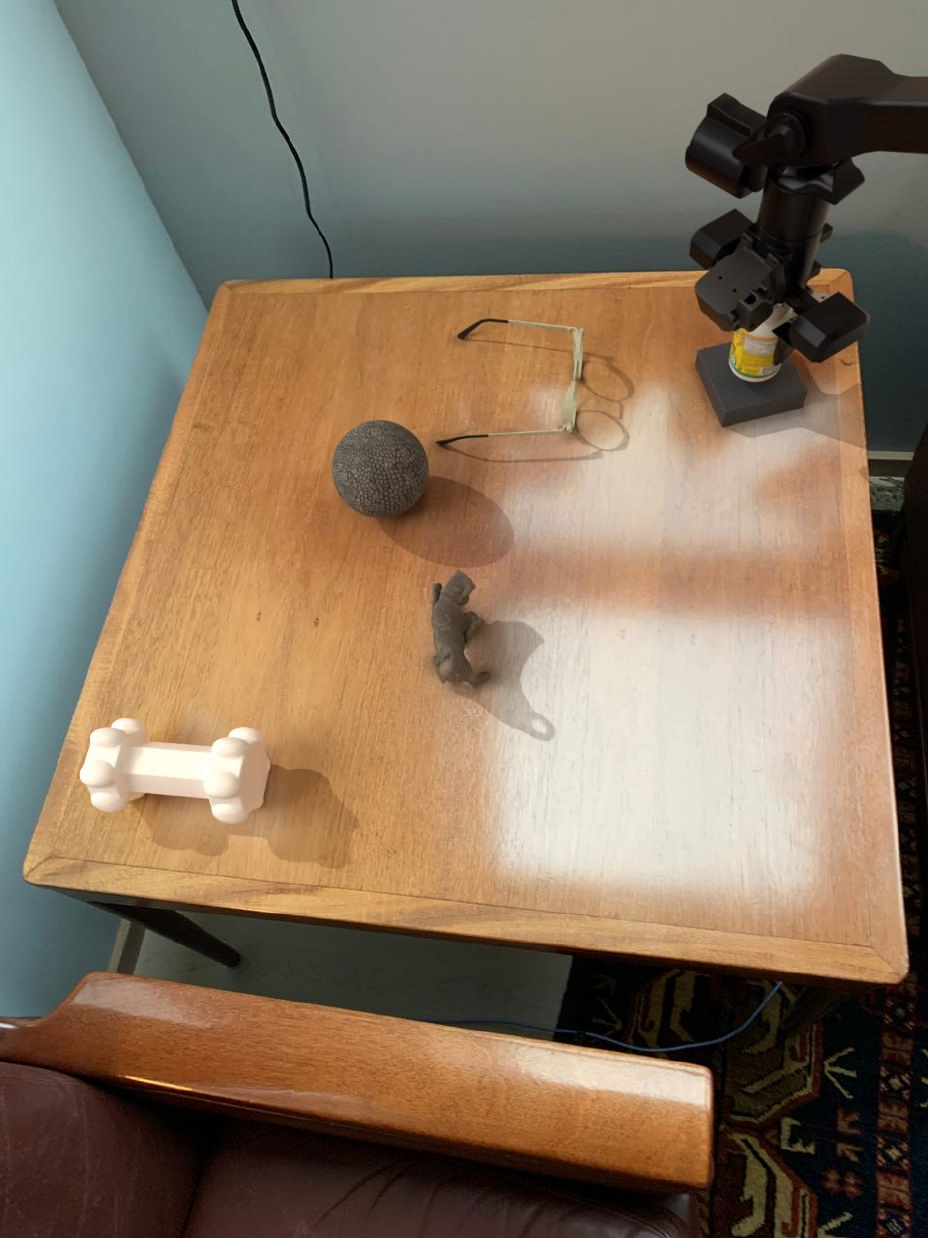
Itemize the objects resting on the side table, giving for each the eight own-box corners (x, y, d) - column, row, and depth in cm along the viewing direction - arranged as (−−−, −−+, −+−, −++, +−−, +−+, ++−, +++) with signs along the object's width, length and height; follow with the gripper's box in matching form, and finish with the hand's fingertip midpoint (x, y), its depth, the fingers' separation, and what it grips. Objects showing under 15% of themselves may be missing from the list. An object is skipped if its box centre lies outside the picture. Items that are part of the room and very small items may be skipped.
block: (772, 346, 97) (777, 329, 95) (803, 407, 93) (808, 391, 91) (694, 365, 97) (697, 349, 95) (721, 427, 93) (725, 412, 91)
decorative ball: (405, 443, 97) (387, 383, 88) (452, 504, 93) (439, 447, 84) (328, 489, 96) (303, 432, 87) (373, 552, 91) (351, 499, 83)
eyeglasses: (571, 457, 94) (570, 428, 89) (434, 449, 96) (427, 420, 92) (585, 337, 101) (586, 305, 96) (458, 333, 103) (452, 301, 99)
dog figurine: (491, 697, 83) (484, 667, 76) (432, 700, 83) (419, 671, 77) (488, 586, 88) (480, 549, 81) (432, 590, 89) (420, 553, 82)
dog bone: (279, 743, 83) (251, 715, 76) (260, 834, 80) (228, 813, 72) (135, 732, 86) (94, 703, 78) (110, 819, 82) (64, 798, 75)
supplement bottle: (772, 389, 90) (792, 320, 81) (721, 376, 91) (735, 307, 83) (786, 351, 92) (807, 280, 83) (736, 339, 93) (752, 268, 85)
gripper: (650, 203, 78) (640, 329, 92) (791, 324, 70) (757, 443, 84) (748, 148, 80) (724, 281, 94) (897, 261, 72) (846, 388, 86)
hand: (758, 346), depth 89 cm, fingers closed on supplement bottle, 5 cm apart
